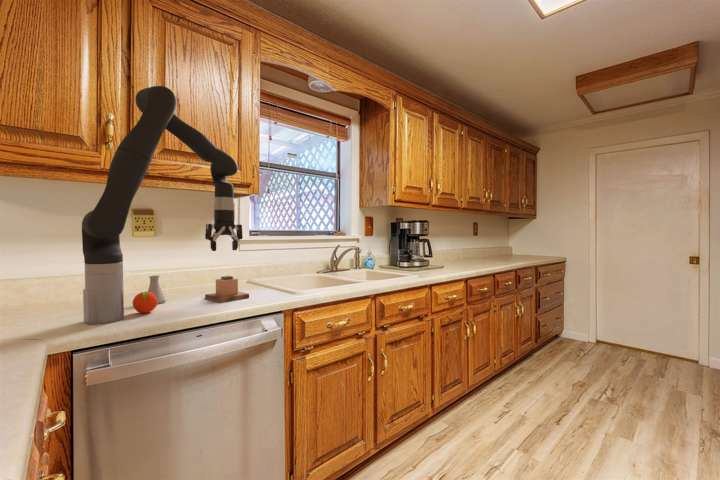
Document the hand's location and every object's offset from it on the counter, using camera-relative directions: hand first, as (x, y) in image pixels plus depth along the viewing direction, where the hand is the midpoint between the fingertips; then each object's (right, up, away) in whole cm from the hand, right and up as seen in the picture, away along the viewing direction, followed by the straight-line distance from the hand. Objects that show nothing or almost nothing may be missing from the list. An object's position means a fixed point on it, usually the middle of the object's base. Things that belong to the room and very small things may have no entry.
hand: (224, 250), depth 138 cm
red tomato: (-16, -20, -24) cm, 35 cm away
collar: (+1, -17, 0) cm, 17 cm away
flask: (-23, -19, -8) cm, 31 cm away
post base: (+1, -19, +1) cm, 19 cm away
